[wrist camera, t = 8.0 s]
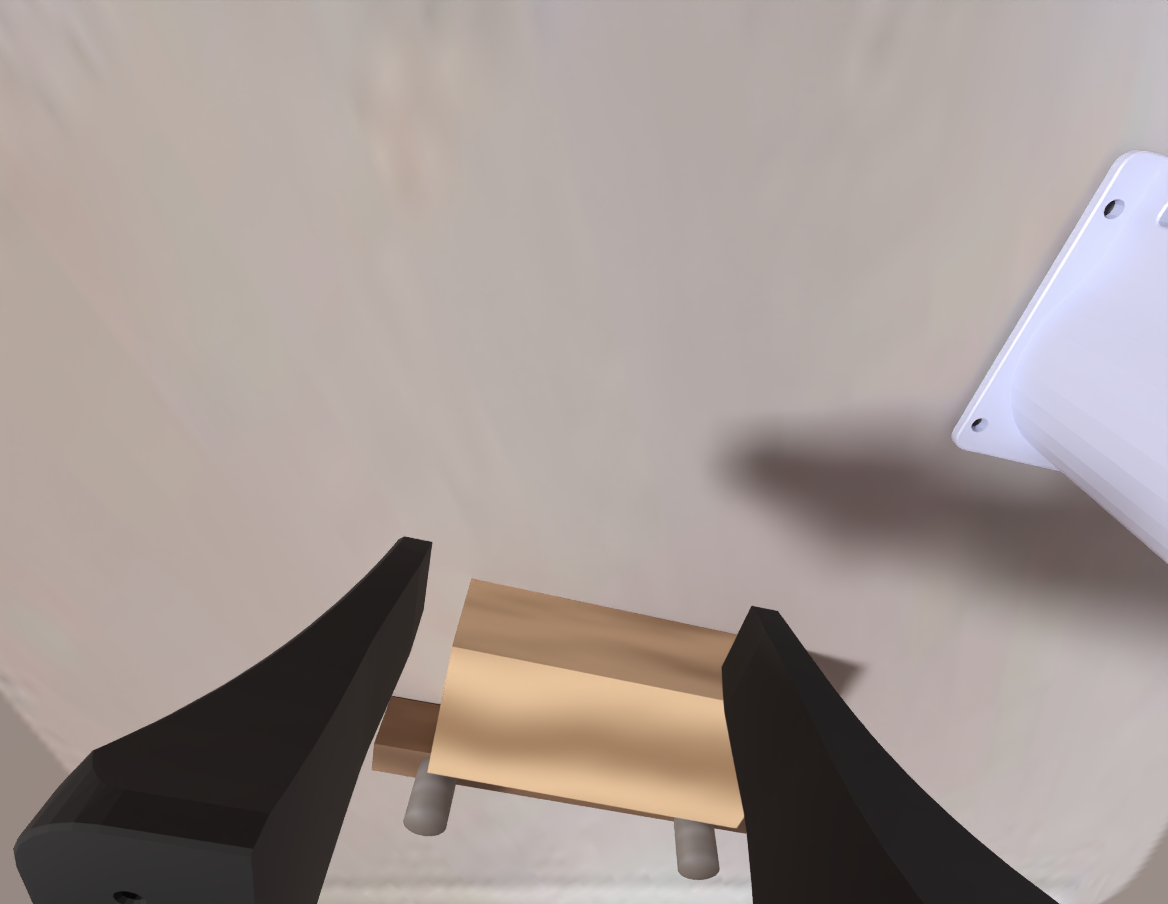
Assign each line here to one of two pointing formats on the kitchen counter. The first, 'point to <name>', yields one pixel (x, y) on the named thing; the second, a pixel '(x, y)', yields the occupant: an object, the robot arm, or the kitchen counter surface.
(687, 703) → the wooden block
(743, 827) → the bar
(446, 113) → the kitchen counter surface
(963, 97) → the kitchen counter surface
